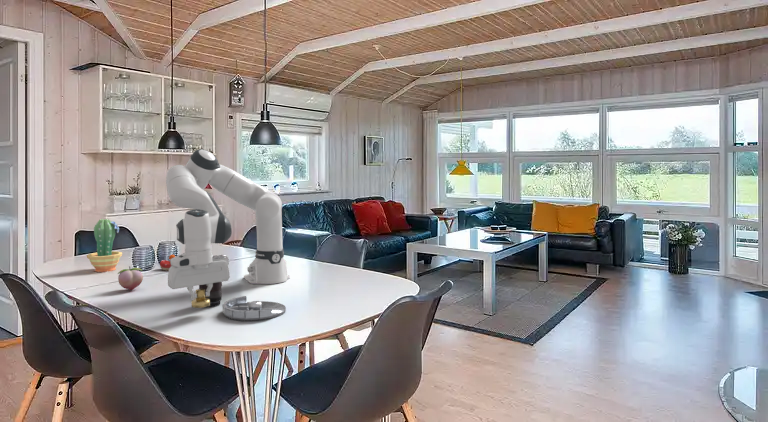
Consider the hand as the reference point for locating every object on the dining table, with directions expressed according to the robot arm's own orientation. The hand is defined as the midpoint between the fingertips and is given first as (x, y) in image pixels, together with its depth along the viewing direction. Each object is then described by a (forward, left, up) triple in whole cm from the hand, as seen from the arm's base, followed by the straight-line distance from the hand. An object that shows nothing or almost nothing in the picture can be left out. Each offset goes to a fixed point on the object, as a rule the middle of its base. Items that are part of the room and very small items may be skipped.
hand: (200, 297), depth 175 cm
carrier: (+8, +16, -6) cm, 19 cm away
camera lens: (-11, +7, -7) cm, 15 cm away
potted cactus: (-104, -11, -7) cm, 105 cm away
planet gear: (0, 0, -3) cm, 3 cm away
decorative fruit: (-53, -11, -7) cm, 55 cm away
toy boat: (-86, +16, -7) cm, 88 cm away
